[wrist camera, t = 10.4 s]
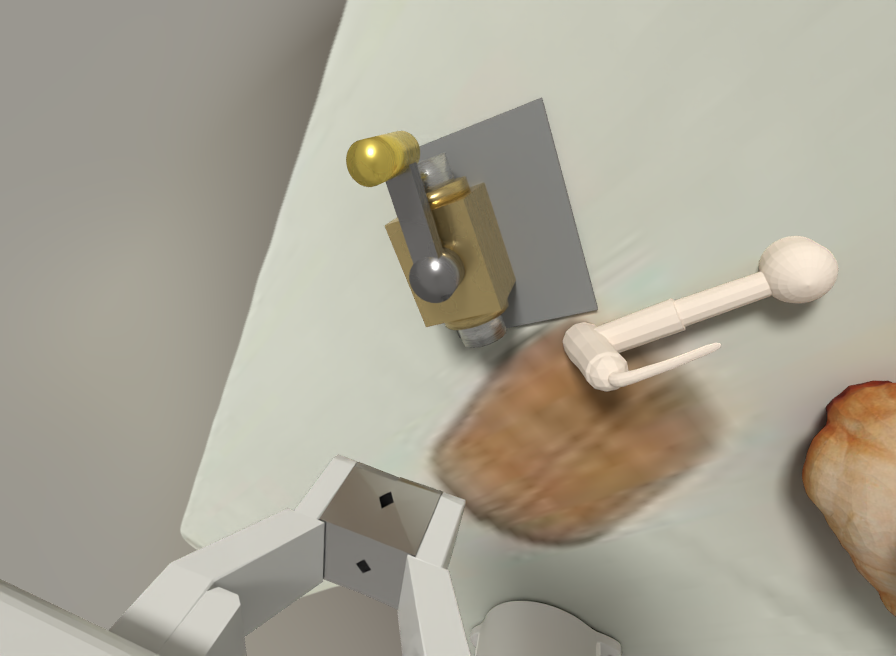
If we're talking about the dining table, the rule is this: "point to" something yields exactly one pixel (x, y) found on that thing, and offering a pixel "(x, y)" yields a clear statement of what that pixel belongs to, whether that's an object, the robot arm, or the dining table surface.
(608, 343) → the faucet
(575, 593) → the dining table surface
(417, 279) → the valve lever
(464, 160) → the valve base plate
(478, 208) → the valve body
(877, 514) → the ceramic vessel
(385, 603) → the robot arm
